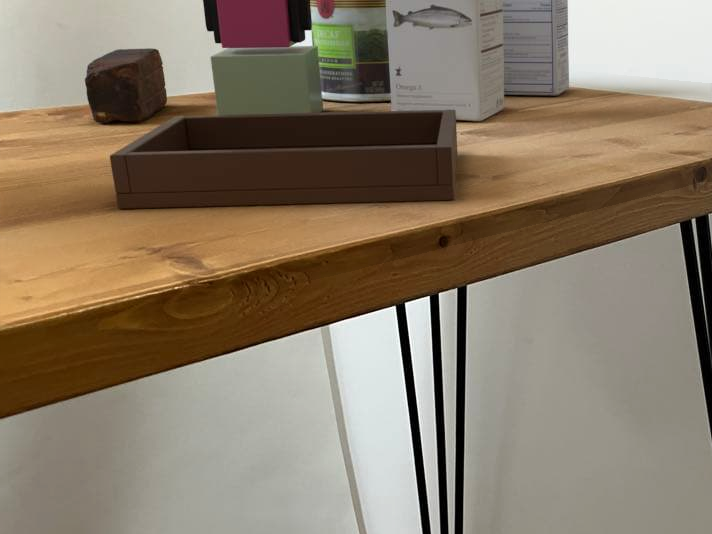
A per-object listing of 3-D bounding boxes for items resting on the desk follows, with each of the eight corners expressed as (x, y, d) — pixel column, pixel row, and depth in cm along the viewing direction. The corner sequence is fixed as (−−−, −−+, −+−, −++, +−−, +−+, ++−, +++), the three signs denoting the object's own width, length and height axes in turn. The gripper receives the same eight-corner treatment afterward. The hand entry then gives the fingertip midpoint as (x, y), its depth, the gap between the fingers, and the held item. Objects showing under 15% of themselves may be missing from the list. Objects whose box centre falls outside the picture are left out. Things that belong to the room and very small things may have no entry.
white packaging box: (389, 120, 85) (377, -59, 80) (421, 107, 91) (412, -60, 86) (482, 122, 83) (475, -60, 78) (508, 108, 90) (503, -61, 85)
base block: (218, 125, 84) (210, 56, 82) (237, 111, 91) (229, 47, 89) (311, 122, 85) (305, 54, 83) (323, 109, 91) (317, 45, 89)
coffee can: (374, 106, 92) (361, -79, 87) (291, 97, 98) (274, -76, 93) (456, 92, 100) (448, -79, 94) (374, 84, 106) (363, -77, 100)
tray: (117, 209, 58) (108, 155, 57) (180, 160, 71) (174, 116, 70) (453, 200, 59) (451, 146, 58) (457, 153, 71) (455, 109, 70)
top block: (221, 48, 83) (213, -24, 81) (235, 42, 87) (227, -26, 86) (289, 47, 83) (282, -25, 81) (299, 42, 88) (293, -26, 86)
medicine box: (570, 90, 100) (569, -13, 96) (557, 97, 96) (556, -10, 92) (486, 89, 102) (483, -12, 98) (470, 95, 98) (466, -10, 94)
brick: (121, 106, 95) (112, 48, 93) (169, 104, 95) (161, 47, 93) (90, 126, 85) (79, 62, 83) (143, 124, 85) (133, 60, 83)
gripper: (361, -222, 82) (376, 36, 89) (127, -222, 81) (161, 39, 88) (350, -238, 75) (368, 44, 82) (94, -238, 74) (134, 47, 81)
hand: (260, 38), depth 85 cm, fingers closed on top block, 5 cm apart
